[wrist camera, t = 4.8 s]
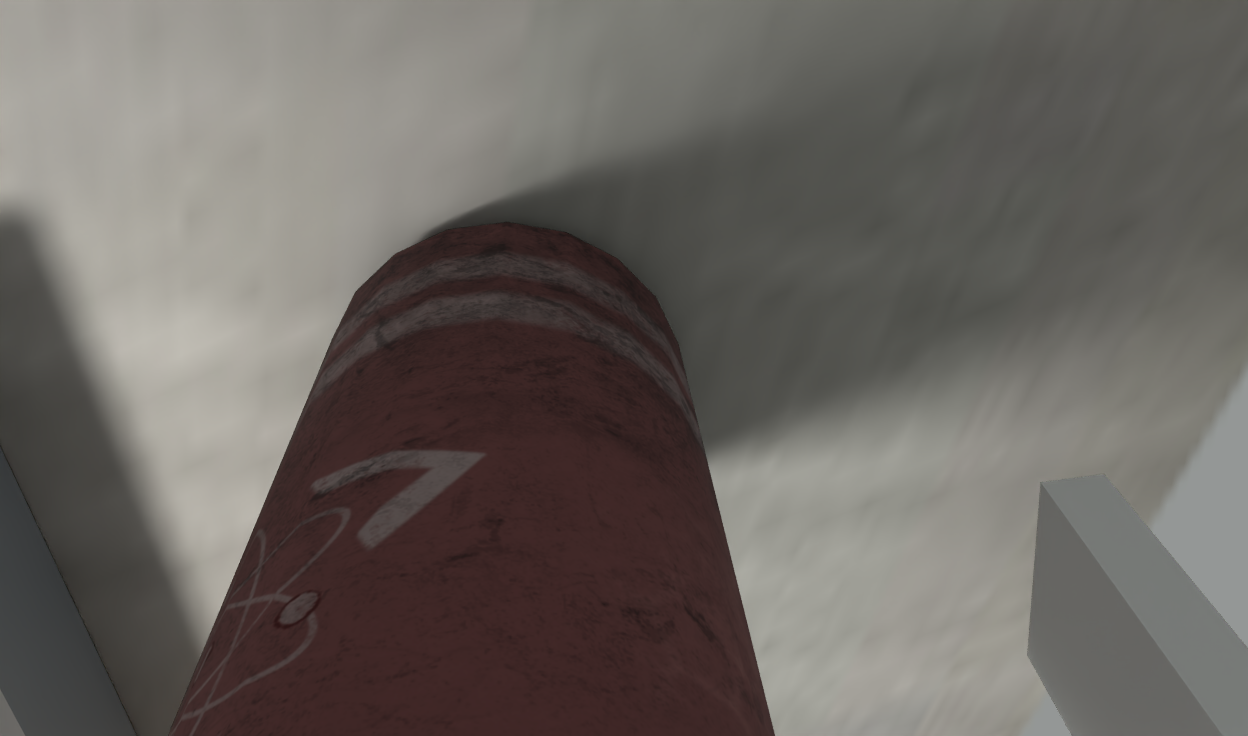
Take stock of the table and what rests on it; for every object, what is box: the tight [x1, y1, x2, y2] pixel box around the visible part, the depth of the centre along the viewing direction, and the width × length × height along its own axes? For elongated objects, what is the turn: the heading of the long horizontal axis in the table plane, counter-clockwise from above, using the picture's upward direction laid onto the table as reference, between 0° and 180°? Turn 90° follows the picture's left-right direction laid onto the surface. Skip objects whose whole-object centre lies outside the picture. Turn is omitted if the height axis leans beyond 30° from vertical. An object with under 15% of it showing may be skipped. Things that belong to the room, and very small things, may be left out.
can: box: [168, 222, 775, 736], centre depth 13 cm, size 6×6×14 cm
